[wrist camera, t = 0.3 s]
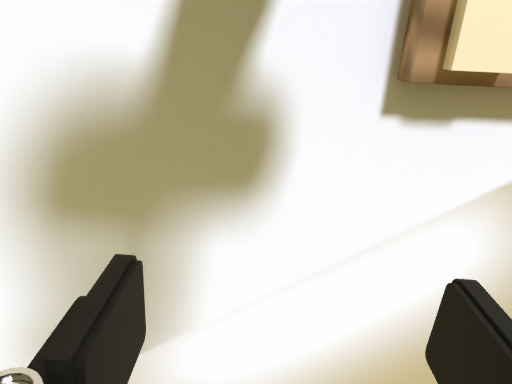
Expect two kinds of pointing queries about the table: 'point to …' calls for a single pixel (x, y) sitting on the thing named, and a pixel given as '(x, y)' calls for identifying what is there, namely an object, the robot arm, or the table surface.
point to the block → (481, 37)
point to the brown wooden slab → (437, 49)
